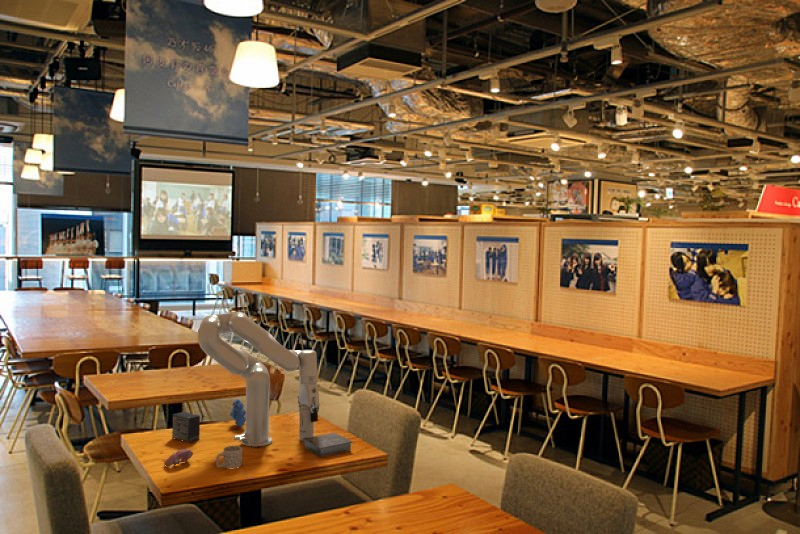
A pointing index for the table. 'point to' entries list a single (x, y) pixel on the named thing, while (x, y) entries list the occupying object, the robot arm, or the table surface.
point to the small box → (186, 426)
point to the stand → (327, 444)
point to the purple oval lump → (179, 457)
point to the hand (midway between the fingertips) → (308, 419)
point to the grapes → (238, 413)
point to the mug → (230, 457)
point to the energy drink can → (305, 423)
